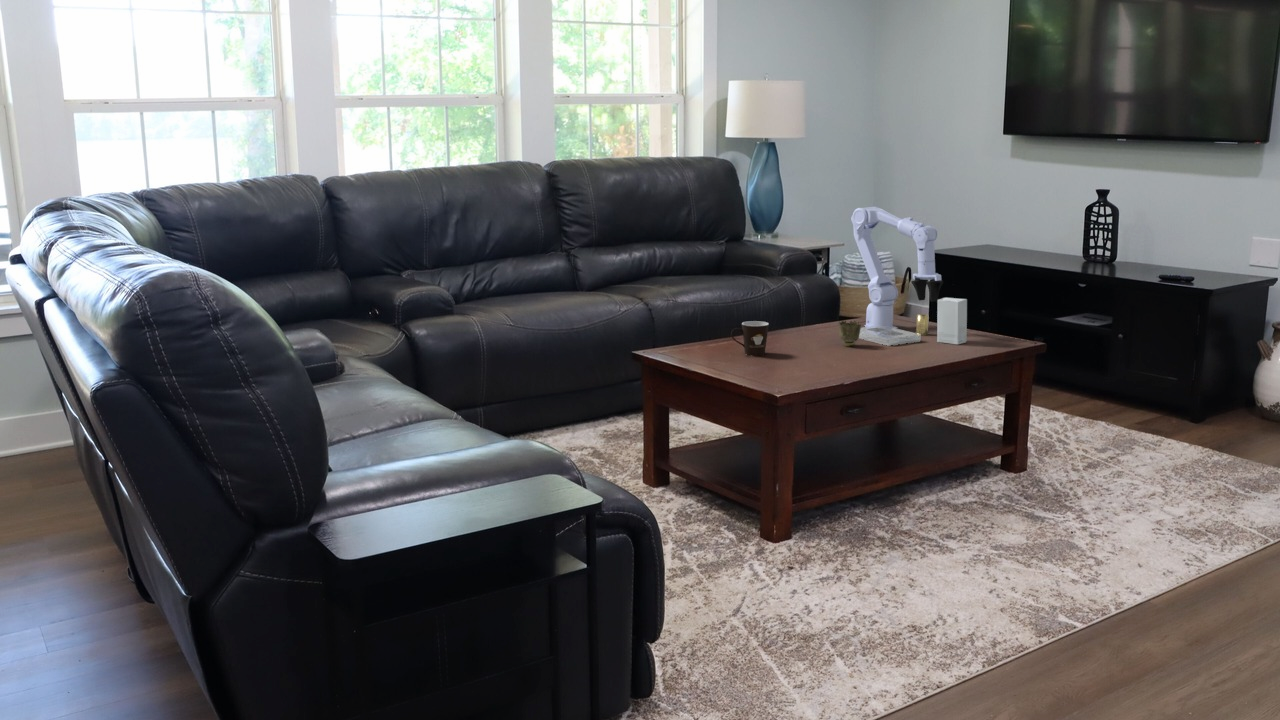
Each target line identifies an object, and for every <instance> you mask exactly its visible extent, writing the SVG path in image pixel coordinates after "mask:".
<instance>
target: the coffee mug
mask: <svg viewBox="0 0 1280 720" xmlns="http://www.w3.org/2000/svg"><path fill="white" fill-rule="evenodd" d="M735 331H740V332H741V334H742V339H743V342H740V341H739V340H737V339H736V338H735V337H734V336H733V334H734V332H735ZM768 333H769V322H766V321H759V320H758V321H757V320H753V321H752V320H751V321H750V320H749V321H743V322H742V323H741V328H739V327H734V328H733V329H731V332H730V337H731V339H732V340H733V341H734V342H736V343H737V344H739V345H741V346H742V347H743V348H744V349H743V350H744V355H745V354H747V355H746V356H748V355H753V356H752V357H760V356H759V355H762V356H765V355H764V354H766V348H767V347H766V346H767V339H768Z"/></svg>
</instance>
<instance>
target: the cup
mask: <svg viewBox="0 0 1280 720" xmlns="http://www.w3.org/2000/svg"><path fill="white" fill-rule="evenodd" d="M861 328H862V322H860V321H856V320H854V321H853V320H850V321H849V322H847V321H846V320H845V321H843V320H841V321H839V322H838V331H839V333H838V334H839V339H841V340H842V341H843V345H844V347H848V348H851V347H854V346H855V344H856V342H857V340H858V339H859V335H860V329H861Z"/></svg>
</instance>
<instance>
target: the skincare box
mask: <svg viewBox="0 0 1280 720" xmlns="http://www.w3.org/2000/svg"><path fill="white" fill-rule="evenodd" d="M936 313H937V314H936V315H937V316H936V317H937V318H936V319H937V320H936V321H937V322H936V323H937V326H936V327H937V328H936V330H937V331H936V332H937V335H936V339H937V340H936V342H937V343H945V344H951V345H961V344H965V343H967V341H968V339H967V335H968V331H967V329H968V328H967V327H968V326H967V325H968V324H967V323H968V299H967V298H956V297H955V298H954V297H942V298H938V300H937V311H936Z"/></svg>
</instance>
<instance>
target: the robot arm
mask: <svg viewBox="0 0 1280 720" xmlns="http://www.w3.org/2000/svg"><path fill="white" fill-rule="evenodd" d="M850 220H851V223H852V225H853V226H852V227H853V238H854V241H855V242H856V245H857V248H858V251H859V253H860V256H861V259H862V262H863V264H864V266H865V267H864V268H865V270H866V272H867V275H868V277H869V280H870V282H869V283H868V285H867V289H868V298H869V300H870V301H871V302H870V303H868V306H867V307H866V312H865V313H866V315H865V324H864V325H863V327H864V326H865V327H870V326H878V325H883V326H887V327H891V328H896V329H899V328H898V326H894V325H893V323H894V304H895V301H897V298H898V296H899V290H898V287H896V285H895V284H894V282H893V280H892V279H891V278H890V277H889V276H887V275H886V274H885V273H886V272H885V270H884V268H883V265H882V263H881V260H880V257H879V255H878V252H877V249H876V246H875V244H874V242H873V239H872V236H871V235H872V233H873V230H875V229H876V227H877V226H878V225H879V223H880V222H881V223H883V224H886V225H889V226H891V227H894V228H897V230H898V233H900V234H901V235H903V236H906V237H908V238H911V239H912V240H913V241H914V242H915V245H916V247H915V248H916V250H917V253H916V255H917V273H912V279H913V280H911V281H910V282H911V284H912V286H913V288H914V290H915V292H916V295H917V298H918V299H917V300H918V301H925V300H926V294H927V293H926V292H927V291H926V290H927V289H926V288H928V292H929V298H930V302H932V303H933V302H938V300H939V294H940V291H941V288H942V286H943V284H944V280H942V275H941V274H939V273H938V272H936V259H935V257H936V255H935V241H936V240H937V238H938V231H937V229H936V228H935V226H933V225H924V223H923V222H918V221H915V220H914V218H913V217H911V216H910V217H909V216H908V217H904V218H900V217H899V216H896V215H894V214H892V213H890V212H888V211H886V210H884V209H883V208H879V207H878V206H869V207H857V208H855V210H854V211H853V213H852V216H851V218H850Z"/></svg>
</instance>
